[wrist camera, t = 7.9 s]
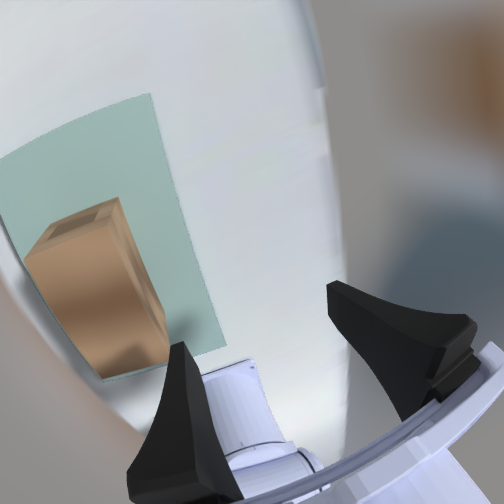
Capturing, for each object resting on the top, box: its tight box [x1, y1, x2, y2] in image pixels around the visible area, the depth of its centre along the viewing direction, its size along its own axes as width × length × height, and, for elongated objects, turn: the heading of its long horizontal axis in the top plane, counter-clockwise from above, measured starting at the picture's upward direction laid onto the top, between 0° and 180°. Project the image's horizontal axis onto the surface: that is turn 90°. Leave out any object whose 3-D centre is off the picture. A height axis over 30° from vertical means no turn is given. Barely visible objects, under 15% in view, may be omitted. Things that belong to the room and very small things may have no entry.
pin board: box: [0, 93, 227, 383], centre depth 17 cm, size 20×12×4 cm, turn 12°
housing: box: [24, 197, 170, 379], centre depth 15 cm, size 9×5×5 cm, turn 11°
